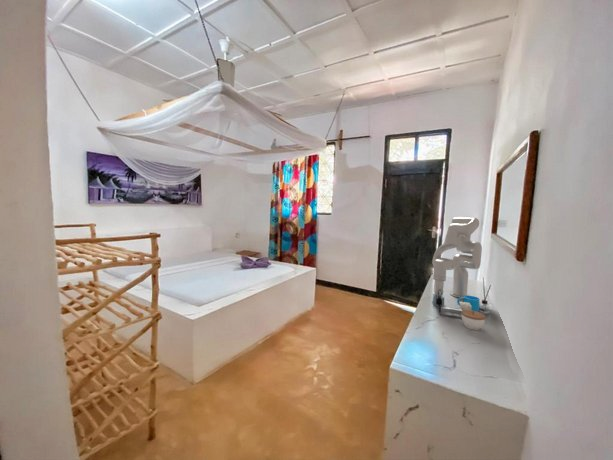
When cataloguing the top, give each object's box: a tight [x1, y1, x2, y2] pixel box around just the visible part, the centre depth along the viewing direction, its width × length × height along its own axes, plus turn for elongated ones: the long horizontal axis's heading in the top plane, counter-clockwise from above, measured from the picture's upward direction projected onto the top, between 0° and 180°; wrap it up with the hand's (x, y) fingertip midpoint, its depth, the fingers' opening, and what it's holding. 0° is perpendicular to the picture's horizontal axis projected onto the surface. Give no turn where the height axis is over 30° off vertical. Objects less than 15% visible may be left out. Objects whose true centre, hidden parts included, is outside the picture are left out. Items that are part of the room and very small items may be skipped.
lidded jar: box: [461, 310, 486, 331], centre depth 133 cm, size 11×11×9 cm
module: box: [432, 293, 445, 307], centre depth 166 cm, size 7×6×6 cm
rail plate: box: [436, 301, 472, 320], centre depth 151 cm, size 14×18×7 cm
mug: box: [456, 295, 480, 312], centre depth 158 cm, size 12×8×8 cm
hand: (438, 302), depth 166 cm, fingers open, 8 cm apart
